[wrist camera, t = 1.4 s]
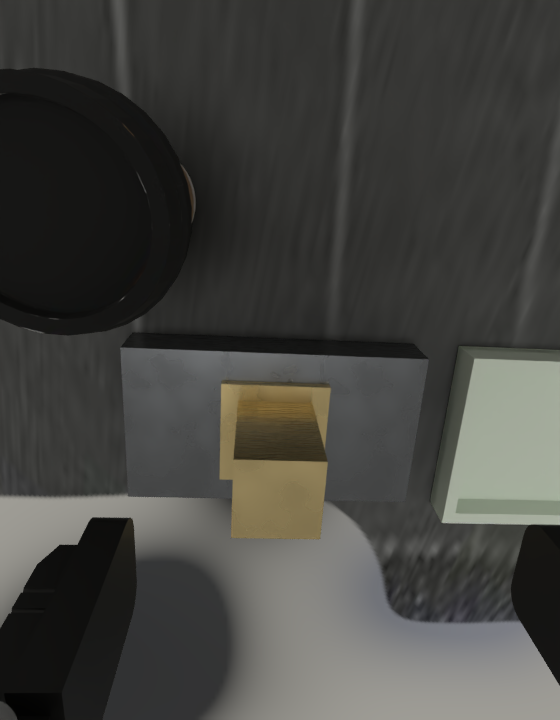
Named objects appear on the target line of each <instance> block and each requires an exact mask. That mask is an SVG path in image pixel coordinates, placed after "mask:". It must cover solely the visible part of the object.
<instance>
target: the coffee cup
mask: <svg viewBox="0 0 560 720" xmlns="http://www.w3.org/2000/svg"><path fill="white" fill-rule="evenodd" d="M195 208H196V198H195V192H194V187H193V184H192V182H191V179H190V177H189V175H188V173H187V172H186V170H185V168H184V167H183V166H182V165H181V164H180V161H179V159H178V157H177V155H176V153H175V151H174V150H173V148H172V146H171V145H170V143H169V141H168V140H167V138H166V136H165V135H164V133H163V132H162V131H161V130H160V129H159V127H158V126H157V125H156V124H155V123H154V122H153V120H152V119H151V118H150V117H149V116H148V115H147V113H146V112H144V111H143V110H142V109H141V108H139V107H138V106H137V105H136V104H134V103H133V102H132V101H131V100H129V99H128V98H127V97H126V96H124V95H123V94H121V93H119V92H117V91H115V90H114V89H112V88H110V87H108V86H106V85H104V84H102V83H100V82H98V81H95V80H92V79H89V78H85V77H82V76H79V75H76V74H72V73H68V72H65V71H59V70H49V69H40V68H29V69H21V70H14V69H0V319H2V320H4V321H7V322H9V323H11V324H14V325H16V326H18V327H21V328H25V329H29V330H33V331H37V332H41V333H45V334H57V335H77V334H86V333H94V332H102V331H108V330H111V329H114V328H117V327H120V326H123V325H126V324H128V323H130V322H132V321H133V320H135V319H137V318H139V317H140V316H142V315H144V314H145V313H147V312H148V311H149V310H150V309H151V308H152V307H153V306H155V305H156V304H157V303H158V302H159V301H160V300H161V299H162V298H163V297H164V295H165V294H166V293H167V291H168V290H169V288H170V287H171V285H172V284H173V283H174V281H175V279H176V278H177V276H178V274H179V272H180V270H181V267H182V265H183V263H184V260H185V258H186V256H187V251H188V247H189V242H190V237H191V233H192V221H193V219H194V214H195Z"/></svg>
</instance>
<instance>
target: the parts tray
mask: <svg viewBox="0 0 560 720" xmlns="http://www.w3.org/2000/svg"><path fill="white" fill-rule="evenodd" d="M430 502H431V504H432V506H433V508H434V509H435V511H436V513H437V515H438V517H439V519H440V520H441V522H442V523H471V524H529V525H532V524H551V525H560V350H550V349H525V348H500V347H476V346H459V347H458V352H457V358H456V363H455V368H454V374H453V379H452V384H451V390H450V395H449V401H448V406H447V411H446V417H445V422H444V428H443V433H442V438H441V444H440V449H439V455H438V460H437V465H436V471H435V476H434V481H433V487H432V492H431V498H430Z"/></svg>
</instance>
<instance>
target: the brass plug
mask: <svg viewBox="0 0 560 720" xmlns="http://www.w3.org/2000/svg"><path fill="white" fill-rule="evenodd" d="M330 391H331V387H330V384H312V383H284V382H255V381H226V380H222V383H221V425H220V479H222V480H233V490H232V525H231V538H270V539H274V538H275V539H276V538H277V539H320V534H321V524H322V514H323V505H324V495H325V485H326V475H327V466H328V460H327V457H326V453H325V442H326V432H327V422H328V411H329V401H330Z"/></svg>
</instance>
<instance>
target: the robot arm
mask: <svg viewBox="0 0 560 720" xmlns="http://www.w3.org/2000/svg"><path fill="white" fill-rule="evenodd" d="M136 588H137V577H136V558H135V540H134V525H133V520H132V519H131V518H92V519H91V520H90V521H89V523H88V525H87V527H86V529H85V531H84V533H83V535H82V537H81V539H80V541H79V543H78V545H59V546H58V547H57V548H56V549H55V550H54V551H52V552H51V553H50V554H49V555H48V556H46V557H45V558H44V559H43V560H42V561H41V562H40V563H38V564H37V566H36V568H35V569H34V571H33V573H32V574H31V576H30V578H29V580H28V581H27V583H26V585H25V587H24V590H23V593H21V594H20V595H19V597H18V599H17V600H16V602H15V604H14V606H13V607H12V612H11V614H8V616H7V618H6V620H5V621H4V623H3V625H2V627H1V628H0V720H103V716H104V713H105V709H106V706H107V702H108V699H109V695H110V692H111V688H112V685H113V681H114V678H115V674H116V671H117V667H118V664H119V661H120V657H121V654H122V650H123V646H124V643H125V640H126V636H127V633H128V629H129V625H130V622H131V619H132V615H133V610H134V605H135V599H136ZM511 596H512V602H513V606H514V609H515V612H516V614H517V616H518V618H519V620H520V621H521V623H522V624H523V626H524V628H525V629H526V631H527V633H528V634H529V636H530V638H531V639H532V641H533V643H534V644H535V646H536V647H537V649H538V651H539V652H540V654H541V656H542V657H543V659H544V661H545V662H546V664H547V666H548V667H549V669H550V670H551V672H552V674H553V675H554V677H555V679H556V680H557V682H558V683H559V685H560V525H551V524H532V525H529V526H528V527H527V528H526V530H525V533H524V536H523V540H522V544H521V548H520V552H519V556H518V560H517V564H516V568H515V572H514V575H513V579H512V584H511Z"/></svg>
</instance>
